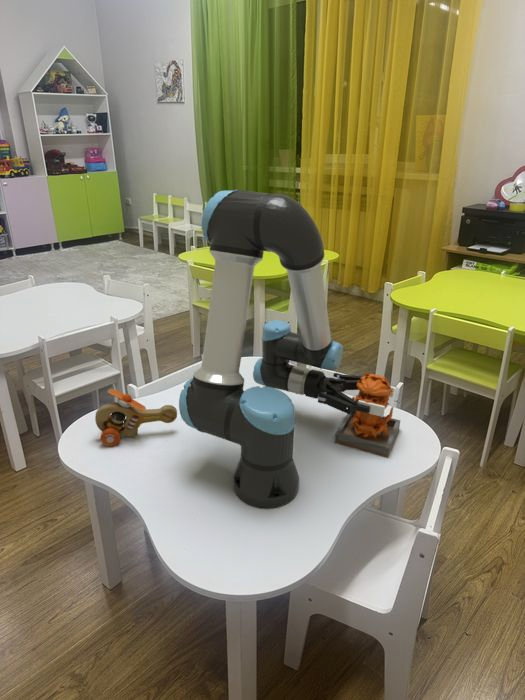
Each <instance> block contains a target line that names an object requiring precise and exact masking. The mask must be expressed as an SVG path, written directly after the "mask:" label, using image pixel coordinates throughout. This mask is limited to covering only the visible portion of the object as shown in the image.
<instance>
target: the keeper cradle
mask: <svg viewBox="0 0 525 700" xmlns="http://www.w3.org/2000/svg"><path fill="white" fill-rule="evenodd" d="M359 412H360V411H359ZM360 413H361V412H360ZM353 417H354V415H353V414H347V413H346V415H345V417H344V418H343V420H342V422H341V423H340V425H339V426H338V429H336V432H335V435H334V444H337V445H341V446H345V447H348V448H352V449H355V450H358V451H362V452H366V453H370V454H373V455H376V456H380V457H383V458H387V459H388V458H389V456H390V453H391V451H392V448H393V445H394V443H395V441H396V438H397V436H398V433H399V430H400V426H401V419H397V418H393V417H391V420H389V421H388V422H387V428H388V429H387V431H388V432H387V435H385V434H384V433H383V432H381V433H379V434H380V435H378V437H376V439H375V438H373V439H368V438H366V439H365V438H364V437H361V436H360V435H358V436H356V432H355V425H354V424H353V426H352V427H350V426H351V422H352V419H353ZM385 417H386V416H383V417H381V419H384V418H385Z"/></svg>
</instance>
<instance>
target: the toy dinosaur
mask: <svg viewBox="0 0 525 700" xmlns="http://www.w3.org/2000/svg"><path fill="white" fill-rule="evenodd" d="M362 376H363V377H361V379H360V380H359V381H358V383H357V385H356V387H358V390H357V391H358V394H357V395H355V396H352V397H351V398H352V399H353V400H355V401H357V403H358V401H359V400H361V401H365V402H367V403H368V402H370V403H374V404H378V405H382V406H385V409H386V408H388V406H389V405H390V403H389V401H390V397H389V396H390V395H391V392H393V390H391V387H392V386H391V385H390V382H389V381H388V378H387V377H385V376H381V375H379V374H374V373H369V372H367V371H366V372H365V376H364V375H362ZM393 393H394V392H393ZM393 410H394V406H391V408H390V409H389V414H387V415H386V416H385V418H384V419H381V416H377V415H373V414H369V413H365V412H361V413H360V412H359V411H357V412H356V414H353V415H354V417H353V419H352V422H351V426H350V427H352V426H353V424H354V425H355V432H356V436H358V435H360V436H361V437H364V438H365V439H366V438H368V439H373V438H375V439H376V437H378V435H380V434H379V433H381V432H383V433H384V434H385V435H387V432H388V431H387V429H388V428H387V422H388V421H389V420H391V418H393V413H394V412H393Z"/></svg>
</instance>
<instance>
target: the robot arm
mask: <svg viewBox="0 0 525 700" xmlns="http://www.w3.org/2000/svg"><path fill="white" fill-rule="evenodd" d="M201 230H202V232H203V233H202V236H203V238H204V239H205V241H206V242H208V243H209V244H210V245H209V253H210V254H211V257H213V259H214V268H213V275H212V284H211V292H210V299H209V305H208V306H209V307H208V314H207V321H206V328H205V336H204V344H203V352H202V359H201V366H200V367H199V368H198V369H197V370H195V371H194V372H193V376H192V377H191V378H189V379H188V380H187V381H186V382H184V385H183V389H181V391H180V393H179V399H178V409H179V415H180V416H181V417H180V418H181V419H182V420H183V422H184V423H185V424H186V425H187V426H189V427H191V428H193V429H195V430H197V431H198V432H199V433H204V434H208V435H211V436H214V437H217V438H219V439H223V440H225V441H228V442H231V443H234V444H236V445H239V446H240V458H239V461H238V464H237V466H236V467H235V468H236V469H235V471H234V473H233V477H232V478H233V491H234V493H235V495H236V496H237V497H238V499H240V500H241V501H242V502H244V503H245V504H247V505H249V506H252V507H256V508H261V509H262V508H263V509H264V508H265V509H271V508H278V507H282V506H284V505H286V504H288V503H290V502H291V501H292V500H293V499H294V498H295V497H296V496H297V494H298V492H299V488H300V487H299V486H300V475H299V473H298V470H297V467H296V464H295V463H296V462H295V460H294V458H293V455H294V440H295V425H296V416H295V406H294V403H293V400H292V399H291V398H290V397H289V396H288V394H286V393H284V392H285V391H286V392H289V393H294V394H296V395H301V396H305V397H309V398H312V399H315V400H316V399H317V403H319V404H323V405H327V406H330V407H331V408H334V409H336V410H338V411H340V412H343V413H345V414H346V415H347V414H356V412H357V411H360V412H365V413H369V414H373V415H377V416H381V417H383V416H384V415H385V410H386V408H385V406H382V405H378V404H374V403H370V402H368V403H367V402H365V401H361V400H359V401H358V403H357V401H355V400H353V399H352V397H350V396H348V395H347V394H345V393H344V392H345V391H359V390H358V387H356V385H357V383H358V381H359V380H360V379H361V377H363V376H364V375H350V374H342V373H339V372H333V376H332V377H327V376H326V375H325V372H323V371H321V370H327V371H335V370H337V369H338V368H339V367H340V364H341V362H342V360H343V353H344V348H343V345H342V343H340V342H337V341H335V340H332V334H331V327H330V322H329V321H330V320H329V312H328V306H327V305H328V304H327V300H326V299H327V298H326V292H325V291H326V290H325V285H324V278H323V277H324V276H323V269H322V262H323V261H324V258H325V248H324V242H323V238H322V236H321V232H320V231H319V230H320V229H319V228H318V226H317V224H316V222H315V221H314V219H313V217H312V216H311V215H310V213H309V212H308V210H306V209H305V208H304V206H303V205H302V204H301V203H300V202H299V201H298V200H295V199H294V198H292V197H291V196H288V195H286V194H282V193H268V192H260V191H258V192H257V191H249V190H240V189H234V190H220V191H218V192H216V193H214V195H213V196H212V197H210V198H209V200H208V202H207V203H206V205H205V207H204V209H203V213H202V216H201ZM264 252H268V253H270V252H272V253H274V254H276V255H277V256H278V258H279V262H280V265H281V266H282V268H283V269H285V270H286V273H287V276H288V277H287V278H288V282H289V286H290V292H291V296H292V297H291V298H292V302H293V306H294V311H295V314H296V321H297V324H298V330H299V333H296V332H292V330H291V325H290V323H289V322H286V321H285V320H280V319H274V320H269V321H267V322H265V323H264V324H263V326H262V336H261V341H262V343H261V344H262V345H261V347H262V349H261V351H262V356H261V357H262V358H259V359H258V360H256V362H255V364H254V366H253V372H252V378H253V381H254V382H255V384H258V385H260V386H258V385H256V386H252V387H249V388H247V389H245V390H244V385H245V378H244V377H243V375H242V374H241V373H240V367H241V361H242V354H243V353H242V352H243V348H244V347H243V345H244V340H245V335H246V334H245V333H246V327H247V318H248V313H249V307H250V306H249V305H250V300H251V294H252V293H251V291H252V285H253V278H254V273H255V267H256V266H257V265H258V264H259V263H260V262H261V261H263V259H264V258H263V257H264ZM290 361H291V362H295V363H299V364H303V365H307V366H310V367H314V368H318V369H320V370H316V369H310V368H308V367H303V366H298V365H294V364H290ZM261 385H262V387H261ZM391 390H393V392H391V395H390V396H389V398H394V391H395V386H391ZM283 391H284V392H283Z"/></svg>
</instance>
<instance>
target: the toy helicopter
mask: <svg viewBox="0 0 525 700" xmlns="http://www.w3.org/2000/svg"><path fill="white" fill-rule="evenodd" d="M106 391H107V393H108V395H111V396H113V397H115V398H118V400H117V402H115V401H114V402H109V403H106V404H104V405H101V406H100V407H99V408H98V409H97V410H96V411H95V418H94V419H95V424H96V426H97V428H98V429H99V431H100V432H101V434H100V442H101V443H102V445H104V446H105V447H110V448H111V447H115V446H117V445H118V444H119V443H120V441H121V437H126V436H129V437H131V438H135V437H137V436H138V432H139V429H140V426H141V425H142V424H147V423H153V422H154V423H155V422H162V423H165V424H171V423H174V422H175V421H176V419H177V416H178V411H177V410H178V409H177V408H176V407H175V406H174V405H172V404H165V405H163V406H161V407H160V408H152V409H149V408H148V409H147V407H146V406H145V405H143V404H141V403H140V402H138V401H137V400H135V399H133V398H132V396H131V395H130V394H129V393H128V394H126V393H123V392H120V391H119V390H117V389H114V388H109V389H108V390H106Z"/></svg>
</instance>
